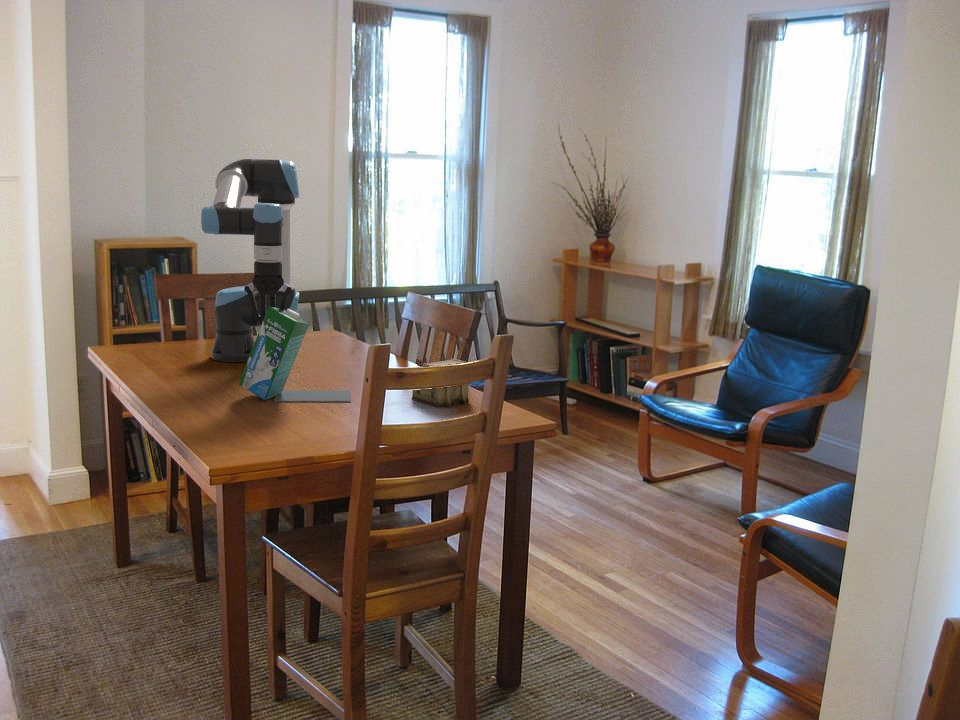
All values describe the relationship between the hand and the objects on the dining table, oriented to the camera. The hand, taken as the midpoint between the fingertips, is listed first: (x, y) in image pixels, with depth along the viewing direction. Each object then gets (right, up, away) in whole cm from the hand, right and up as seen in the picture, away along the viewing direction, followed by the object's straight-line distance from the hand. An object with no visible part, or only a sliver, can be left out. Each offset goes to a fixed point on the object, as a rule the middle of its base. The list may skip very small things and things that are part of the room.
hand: (268, 345), depth 264 cm
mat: (+12, -15, +5) cm, 19 cm away
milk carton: (-3, -13, +2) cm, 13 cm away
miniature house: (+48, -16, +7) cm, 51 cm away
